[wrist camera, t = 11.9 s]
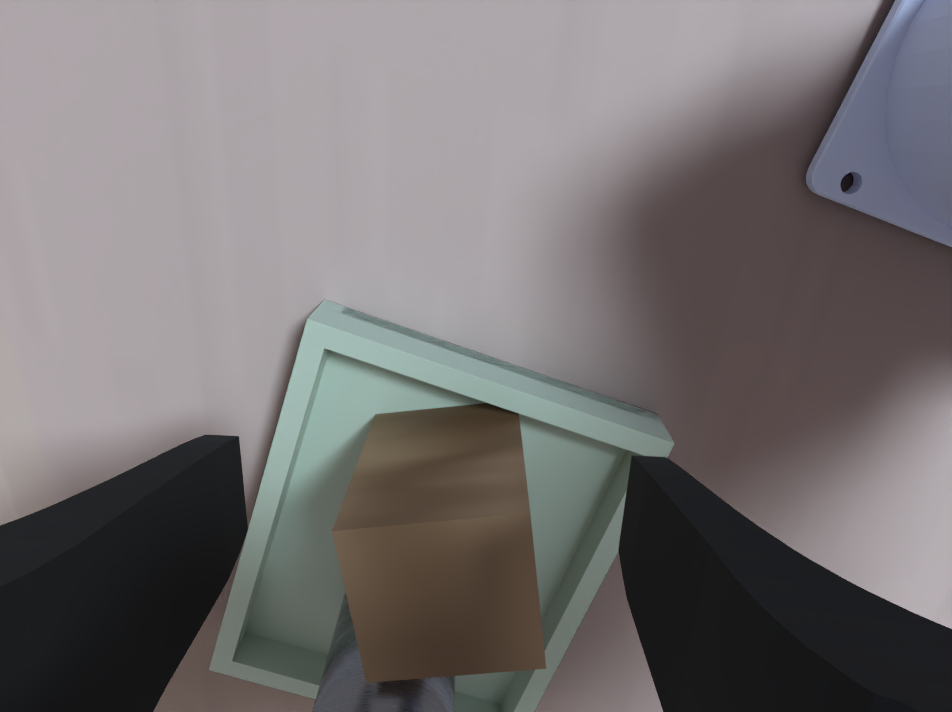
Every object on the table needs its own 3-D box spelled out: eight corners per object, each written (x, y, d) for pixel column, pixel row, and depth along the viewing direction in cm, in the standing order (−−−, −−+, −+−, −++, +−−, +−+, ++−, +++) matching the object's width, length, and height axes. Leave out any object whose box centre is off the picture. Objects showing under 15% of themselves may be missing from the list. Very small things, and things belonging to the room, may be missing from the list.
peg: (456, 558, 20) (450, 731, 14) (457, 651, 21) (452, 845, 15) (339, 559, 20) (285, 732, 14) (347, 652, 21) (301, 846, 15)
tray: (657, 414, 19) (674, 443, 17) (509, 706, 23) (512, 754, 21) (324, 300, 18) (306, 318, 16) (230, 626, 22) (208, 670, 20)
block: (517, 399, 18) (530, 512, 13) (529, 521, 19) (546, 668, 14) (375, 414, 18) (331, 531, 13) (397, 533, 19) (366, 683, 14)
